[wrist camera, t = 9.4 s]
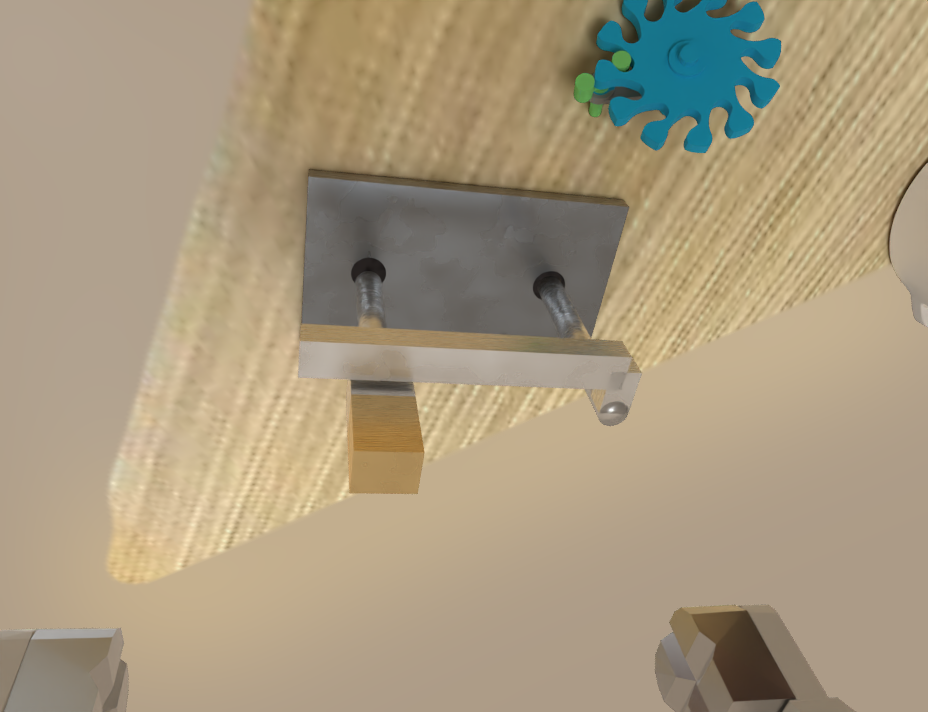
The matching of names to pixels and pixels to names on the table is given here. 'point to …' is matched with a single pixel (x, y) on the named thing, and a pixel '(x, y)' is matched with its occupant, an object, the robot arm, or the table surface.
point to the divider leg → (381, 416)
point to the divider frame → (481, 357)
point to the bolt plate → (454, 253)
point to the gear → (681, 70)
